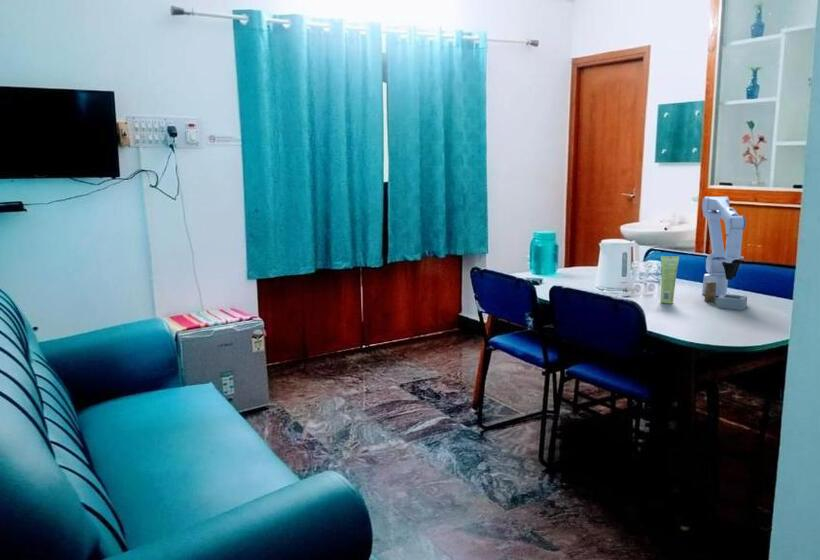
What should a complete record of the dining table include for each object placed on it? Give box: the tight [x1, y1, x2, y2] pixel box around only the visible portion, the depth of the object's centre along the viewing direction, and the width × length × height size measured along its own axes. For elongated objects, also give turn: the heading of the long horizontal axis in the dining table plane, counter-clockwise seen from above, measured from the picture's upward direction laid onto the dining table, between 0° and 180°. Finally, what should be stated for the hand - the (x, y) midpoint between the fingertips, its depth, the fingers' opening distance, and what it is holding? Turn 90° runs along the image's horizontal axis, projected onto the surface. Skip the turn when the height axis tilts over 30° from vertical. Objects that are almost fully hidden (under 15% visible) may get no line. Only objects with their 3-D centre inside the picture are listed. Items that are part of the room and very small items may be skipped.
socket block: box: [716, 293, 748, 311], centre depth 254 cm, size 9×9×4 cm
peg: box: [703, 282, 716, 303], centre depth 263 cm, size 4×4×8 cm
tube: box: [659, 255, 680, 305], centre depth 261 cm, size 6×5×20 cm
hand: (730, 278), depth 261 cm, fingers open, 7 cm apart
